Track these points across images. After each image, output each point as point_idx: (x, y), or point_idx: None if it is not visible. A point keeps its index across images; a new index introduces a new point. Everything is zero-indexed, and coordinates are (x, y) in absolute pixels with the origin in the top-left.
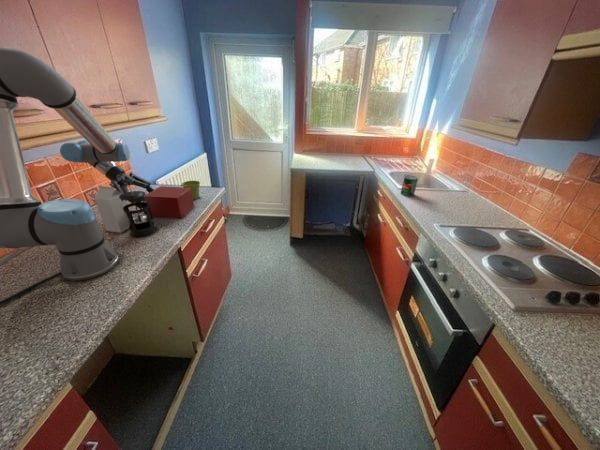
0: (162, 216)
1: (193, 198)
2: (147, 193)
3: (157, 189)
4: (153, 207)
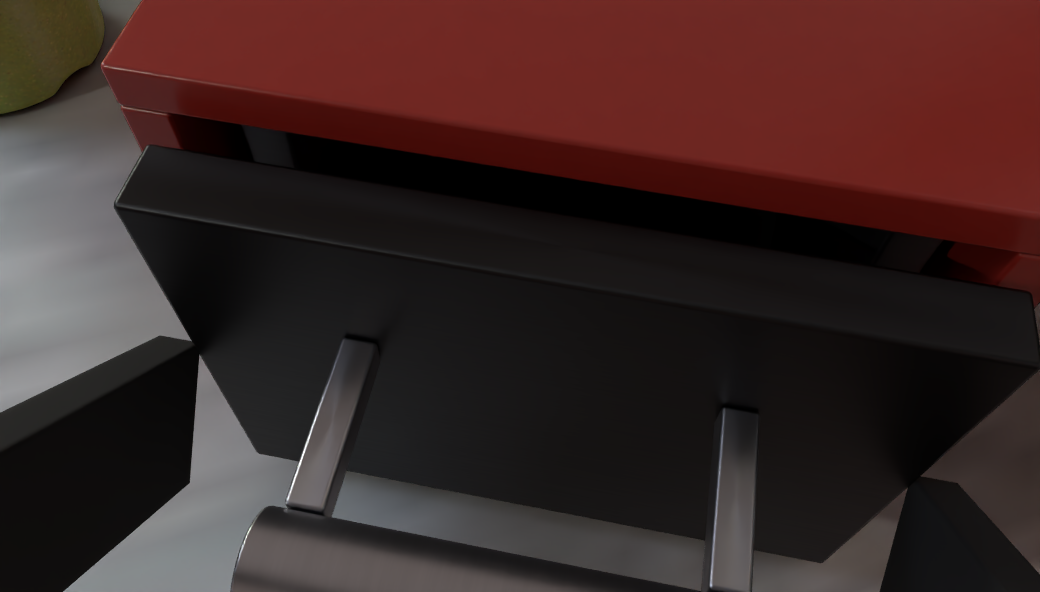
0: None
1: (100, 13)
2: (257, 558)
3: (451, 59)
4: None
